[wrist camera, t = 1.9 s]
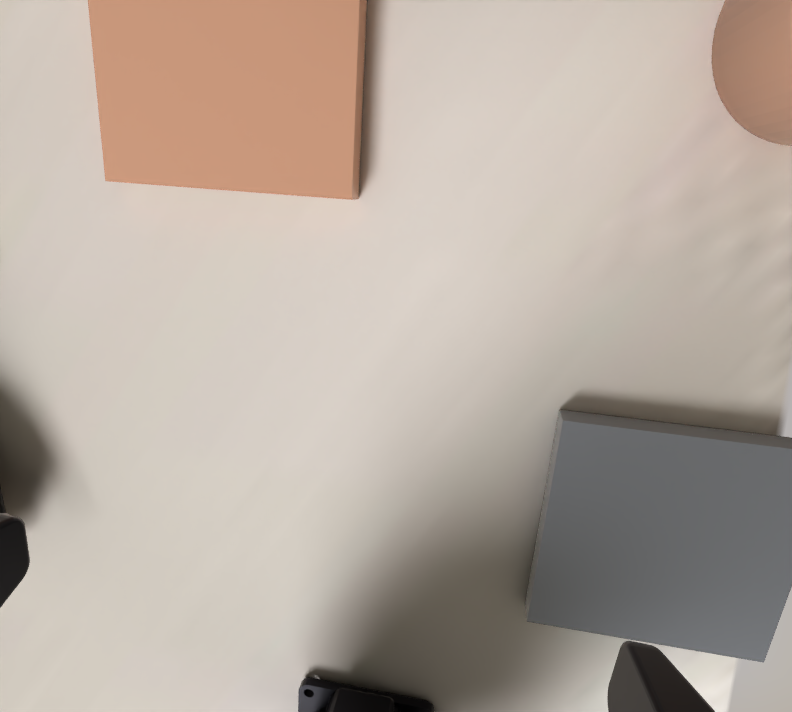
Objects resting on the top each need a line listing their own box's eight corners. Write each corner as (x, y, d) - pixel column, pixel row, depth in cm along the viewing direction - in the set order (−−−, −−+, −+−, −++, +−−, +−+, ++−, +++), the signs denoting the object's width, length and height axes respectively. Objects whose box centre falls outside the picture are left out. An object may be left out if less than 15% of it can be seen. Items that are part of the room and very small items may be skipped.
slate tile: (751, 641, 22) (763, 662, 21) (525, 603, 23) (526, 621, 22) (821, 441, 19) (839, 455, 18) (559, 409, 20) (562, 420, 19)
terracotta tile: (358, 198, 19) (351, 199, 18) (123, 181, 20) (105, 180, 19) (371, -114, 16) (364, -133, 15) (97, -113, 17) (75, -131, 16)
